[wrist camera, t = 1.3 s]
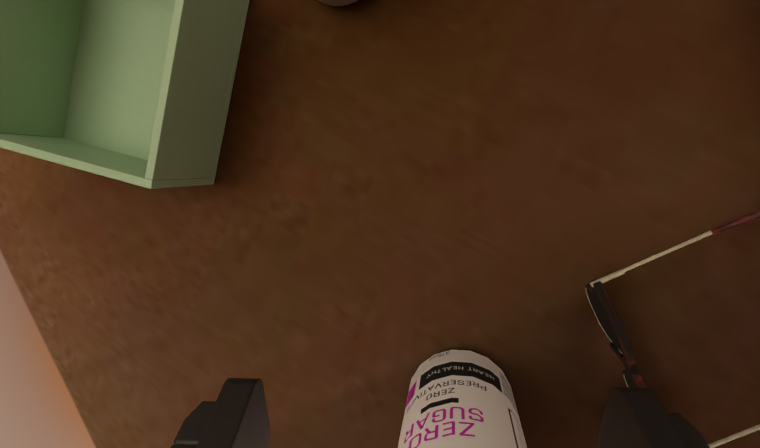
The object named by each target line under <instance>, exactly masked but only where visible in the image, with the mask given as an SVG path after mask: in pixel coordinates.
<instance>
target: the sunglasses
mask: <svg viewBox="0 0 760 448" xmlns="http://www.w3.org/2000/svg"><path fill="white" fill-rule="evenodd" d="M757 218H760V211H757V212H754V213H751V214H748V215H745V216H742V217H740V218H737V219H735V220H732V221H730V222H728V223H725V224H723V225H721V226H718V227H716V228H714V229H712V230H710V231H708V232H706V233H704V234H702V235H700V236H697V237H695V238H693V239H690V240H688V241H686V242H683V243H681V244H679V245H677V246H674V247H672V248H670V249H667V250H665V251H663V252H660V253H658V254H656V255H654V256H651V257H649V258H647V259H644V260H642V261H640V262H638V263H635V264H633V265H631V266H628V267H626V268H623V269H621V270H618V271H616V272H614V273H611V274H609V275H607V276H605V277H602V278H600V279H598V280H597V279H596V280H593V281H591V282H590V283H589V284H587V285H585V287H586V289H585V290H586V294H587V297H588V300H589V302H590V305H591V307H592V309H593V312H594V314H595V316H596V318H597V320H598V322H599V324H600V326H601V327H602V329H603V331H604V332H605V334H606V335H607V337H608V338H609V339H610V341H611V343H610V344H609V345H610V347H611V348H612V349H613V351H614V352H615V353H616V355H617V356H618V357H619V358H620V360H621V361H622V362H623V364H624V365H625V367H626V370H623V371H622V373H623V375H624V379H625V382H626V384H627V387H628V388H648V386H647V384H646V383H645V381H644V379H643V378H642V376H641V374H640V373H639V371H638V369H637V366H636V364H635V358H634V354H633V351H632V348H631V345H630V343H629V340H628V338H627V335H626V333H625V330H624V328H623V325H622V323H621V321H620V319H619V317H618V314H617V312H616V310H615V308H614V306H613V304H612V302H611V300H610V298H609V296H608V294H607V292H606V290H605V288H604V286H603V284H602V283H604V282H607V281H609V280H611V279H614V278H616V277H618V276H620V275H623V274H625V272H626V271H628V270H631V269H633V268H635V267H637V266H640V265H642V264H644V263H647V262H649V261H651V260H653V259H656V258H658V257H660V256H663V255H665V254H667V253H670V252H672V251H674V250H677V249H679V248H681V247H684V246H686V245H688V244H691V243H693V242H695V241H698V240H700V239H702V238H705V237H707V236H709V235H712V234H715V235H717V234H719V233H722V232H724V231H726V230H729V229H731V228H733V227H735V226H738V225H740V224H743V223H745V222H748V221H751V220H754V219H757ZM757 430H760V424H759V425H756V426H754V427H751V428H749V429H746V430H743V431H741V432H738V433H736V434H733V435H731V436H728V437H726V438H723V439H721V440H718V441H716V442H713V443H711V444H708V445H709V447H710V448H714V447H716V446H719V445H721V444H724V443H726V442H729V441H731V440H734V439H736V438H739V437H742V436H744V435H747V434H749V433H752V432H755V431H757Z"/></svg>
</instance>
